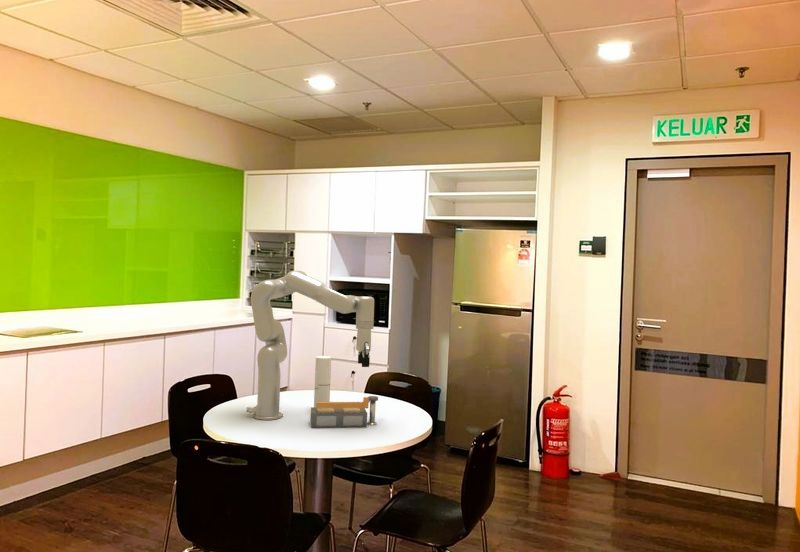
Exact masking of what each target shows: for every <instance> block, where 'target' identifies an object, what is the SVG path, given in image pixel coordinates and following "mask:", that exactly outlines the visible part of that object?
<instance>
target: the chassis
mask: <svg viewBox="0 0 800 552" xmlns="http://www.w3.org/2000/svg"><path fill="white" fill-rule="evenodd" d="M367 422H368V411H367V410H366V408H345V409H316V407H314V406H313V407H310V427H311V429H337V428H338V429H343V428H345V429H347V428H349V429H350V428H351V429H353V428H356V429H357V428H368V424H367Z"/></svg>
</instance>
